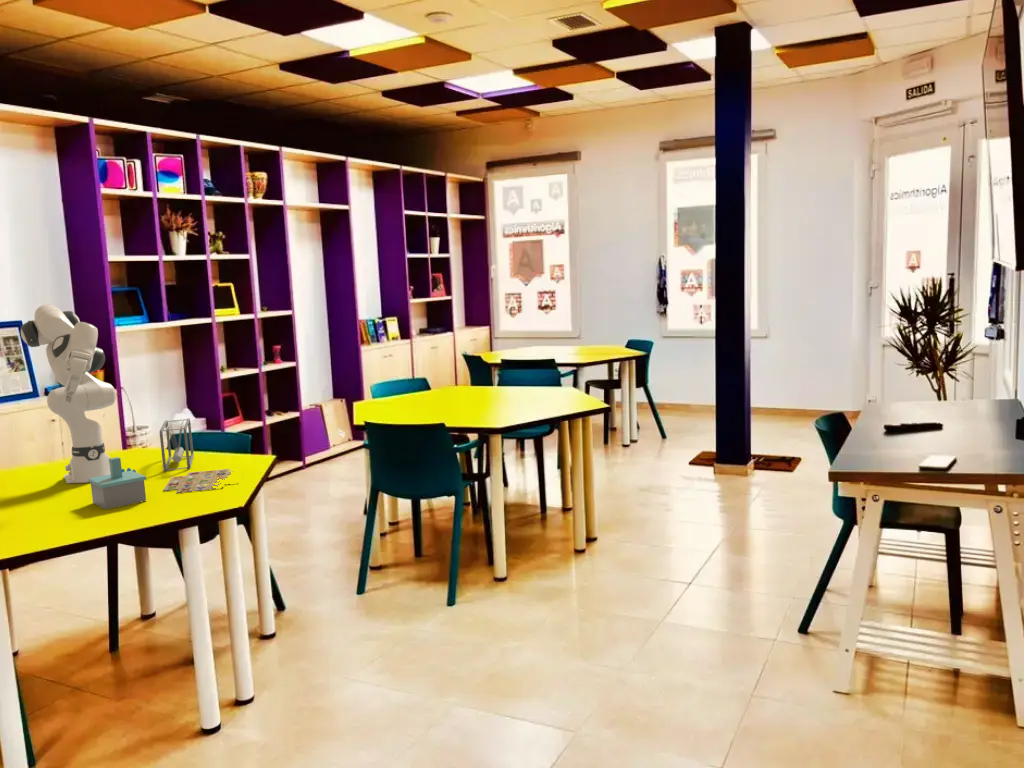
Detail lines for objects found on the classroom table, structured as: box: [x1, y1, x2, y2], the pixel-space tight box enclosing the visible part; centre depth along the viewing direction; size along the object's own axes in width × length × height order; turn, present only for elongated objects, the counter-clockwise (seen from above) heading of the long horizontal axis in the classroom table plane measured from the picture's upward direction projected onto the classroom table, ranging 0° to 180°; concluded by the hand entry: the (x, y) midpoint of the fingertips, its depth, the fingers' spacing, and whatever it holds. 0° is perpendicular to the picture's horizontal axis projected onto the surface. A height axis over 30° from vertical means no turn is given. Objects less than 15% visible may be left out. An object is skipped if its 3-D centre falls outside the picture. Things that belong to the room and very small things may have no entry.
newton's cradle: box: [159, 418, 195, 472], centre depth 367 cm, size 30×10×18 cm, turn 18°
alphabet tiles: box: [162, 468, 235, 494], centre depth 332 cm, size 28×33×1 cm
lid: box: [88, 456, 147, 488], centre depth 305 cm, size 15×15×9 cm
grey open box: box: [90, 480, 147, 510], centre depth 306 cm, size 14×14×8 cm
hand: (69, 396), depth 303 cm, fingers open, 8 cm apart
